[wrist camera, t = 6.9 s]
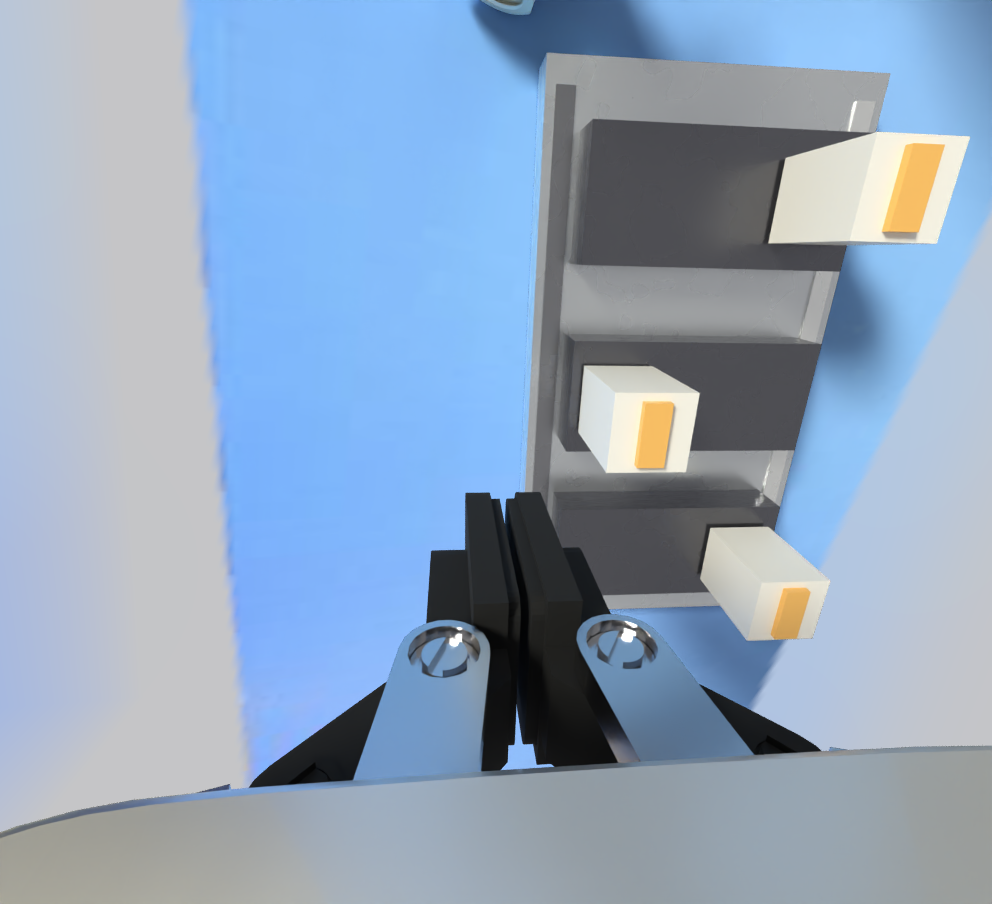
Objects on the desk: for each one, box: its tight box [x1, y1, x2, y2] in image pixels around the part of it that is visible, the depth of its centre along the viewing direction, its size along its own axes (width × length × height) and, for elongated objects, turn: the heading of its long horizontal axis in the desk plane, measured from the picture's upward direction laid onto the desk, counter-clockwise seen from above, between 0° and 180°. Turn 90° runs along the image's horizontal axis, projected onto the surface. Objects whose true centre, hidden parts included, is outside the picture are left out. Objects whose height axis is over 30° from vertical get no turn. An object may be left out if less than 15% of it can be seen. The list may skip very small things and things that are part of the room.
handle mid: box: [578, 366, 700, 473], centre depth 20 cm, size 3×3×5 cm
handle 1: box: [700, 527, 830, 641], centre depth 24 cm, size 3×3×5 cm
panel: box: [519, 53, 890, 609], centre depth 25 cm, size 26×14×4 cm, turn 179°
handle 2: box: [768, 132, 970, 245], centre depth 18 cm, size 3×3×5 cm
